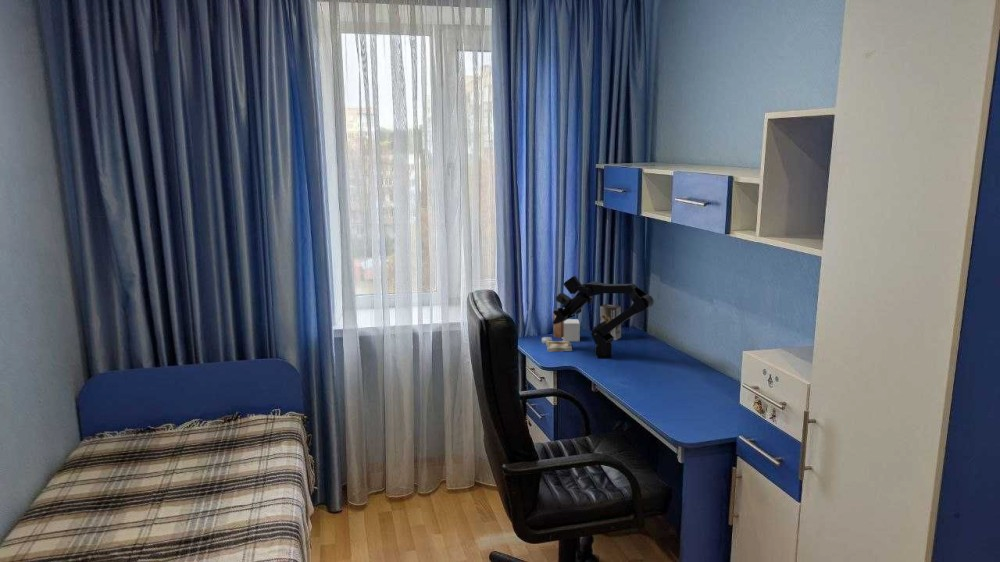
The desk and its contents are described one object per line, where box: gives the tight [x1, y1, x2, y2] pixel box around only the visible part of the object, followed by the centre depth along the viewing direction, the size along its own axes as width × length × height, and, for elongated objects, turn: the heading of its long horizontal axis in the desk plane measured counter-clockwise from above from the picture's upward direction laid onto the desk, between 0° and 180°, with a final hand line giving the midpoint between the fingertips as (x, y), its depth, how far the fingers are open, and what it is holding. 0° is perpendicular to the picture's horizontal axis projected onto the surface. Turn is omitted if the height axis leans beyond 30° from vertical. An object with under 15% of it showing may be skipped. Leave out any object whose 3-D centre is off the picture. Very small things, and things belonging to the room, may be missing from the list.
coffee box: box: [599, 303, 622, 341], centre depth 333 cm, size 9×6×16 cm
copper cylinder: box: [553, 313, 564, 339], centre depth 315 cm, size 5×5×12 cm
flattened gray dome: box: [541, 336, 553, 345], centre depth 326 cm, size 5×5×2 cm
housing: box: [561, 318, 581, 342], centre depth 331 cm, size 8×8×9 cm
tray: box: [545, 340, 573, 353], centre depth 317 cm, size 11×11×2 cm
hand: (556, 322), depth 315 cm, fingers closed on copper cylinder, 5 cm apart
